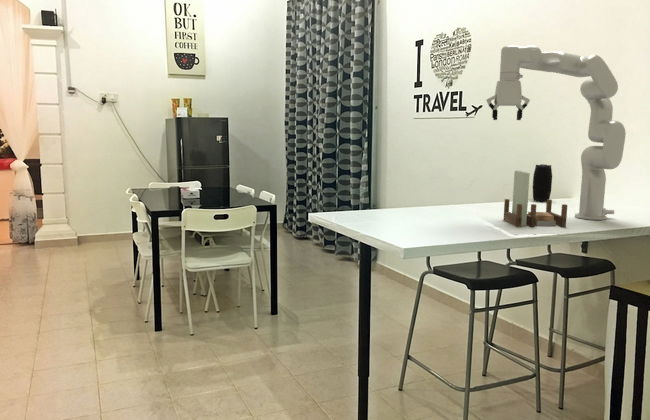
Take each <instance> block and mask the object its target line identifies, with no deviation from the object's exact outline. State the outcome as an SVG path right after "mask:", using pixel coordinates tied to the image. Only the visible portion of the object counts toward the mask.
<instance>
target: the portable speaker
mask: <svg viewBox="0 0 650 420" xmlns="http://www.w3.org/2000/svg"><path fill="white" fill-rule="evenodd" d="M552 169H553V168H552V165H551V164H543V163H542V164H535V169H534V172H533V179H532V199H533V202H534V201H535V202H537V203H544V202H547V199H550V196H551V192H552V187H553V186H552V184H553V170H552Z"/></svg>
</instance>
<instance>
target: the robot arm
mask: <svg viewBox="0 0 650 420" xmlns="http://www.w3.org/2000/svg"><path fill="white" fill-rule="evenodd" d="M520 69H523V70H524V69H526V70H530V71H532V70H533V71H538V72H539V71H540V72H545V73H556V74H559V75H566V76H571V77H575V78H587V77H588V78H589V77H590V78H591V79H587V80H584V81H583V82H582V83H581V85H580V94H581V95H582V97H583V98H584V99H585V100H586V102H587V103H588V104H589V106H590V114H589V115H590V116H589V123H588V124H589V125H588V132H587V136H588V137H587V138H588V139H589V141H591V142H593V143H597V144H602V145H591V146H588V147H585V149H584V150H583V151H582V152H581V155H580V161H581V183H580V184H581V185H580V194H579V195H580V196H579V209H578V212H577V213H575V214H574V217H575V218H577V219H583V220H589V221H591V220H592V221H604V220H607V215H614V214H615V209H606V208H604V205H605V194H606V193H605V192H606V184H607V183H606V182H607V177H606V171H605V170H614V169H616V168H618V167H619V165H620V164H621V162H622V159H623V154H624V147H625V141H626V135H627V134H626V127H625V126H624V124H623V123H622V122H620V121H619V120H614V119H613V110H614V109H613V103H612V101H611V99H610V98H612V97H614V96H615V95H616V94H617V92H618V89H619V85H618V82H617V81H618V80H617V78H616V77H615V76H614V74H613V72H612V70H611V69H610V68H609V66H608V64H607V63H606V61H605V60H604V58H602V57H601V56H599V55H598V54H590V55H578V54H572V53H570V52H569V53H568V52H564V51H544V52H542V50H541V49H540V47H539V46H536V45H526V46H524V45H523V46H519V45H505V46H503V47H502V48H501V49H500V68H499V80H497V81H496V86H495V92H494V95H492V96H490V97H489V98H487V99H486V103H487V104H488V107H489V108H490V109H491V110H492V113H491V114H492V115H491V116H492V119H493V121H497V120H498V113H499V111H498V108H499V107H502V106H503V107H505V106H506V107H507V106H513V107H516V108H517V109H518V110H516V121H521V119H522V118H523V111H524V110H525V108H526V107H527V106H528V104H529V103H530V101H531V99H529V97H528V98H527V97H526V96H524V95H523V94H522V91H523V90H522V84H521V80H520V79H523V74H521V73H520ZM492 101H493V103H492ZM522 101H524V103H522Z"/></svg>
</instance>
